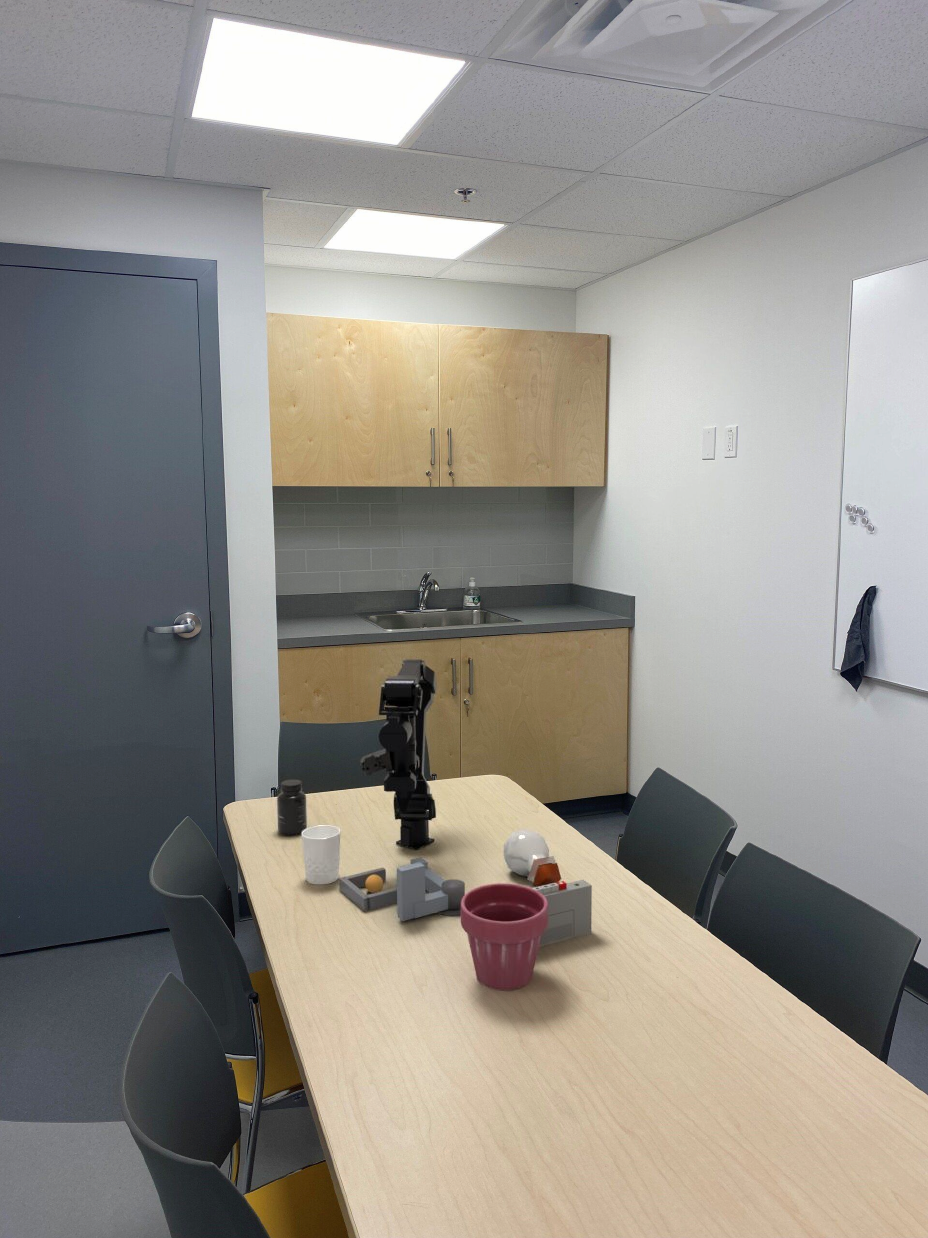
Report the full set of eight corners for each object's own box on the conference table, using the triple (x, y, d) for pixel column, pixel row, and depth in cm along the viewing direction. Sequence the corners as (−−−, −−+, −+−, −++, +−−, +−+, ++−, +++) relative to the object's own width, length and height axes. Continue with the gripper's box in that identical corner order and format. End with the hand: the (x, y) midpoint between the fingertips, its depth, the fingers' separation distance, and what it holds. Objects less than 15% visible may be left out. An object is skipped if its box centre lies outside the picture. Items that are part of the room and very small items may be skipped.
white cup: (345, 871, 187) (344, 825, 186) (336, 887, 179) (335, 839, 178) (308, 870, 188) (307, 824, 187) (298, 885, 180) (296, 838, 179)
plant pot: (542, 1004, 136) (542, 924, 134) (452, 995, 139) (451, 917, 137) (552, 958, 150) (552, 886, 148) (470, 951, 153) (469, 879, 151)
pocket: (383, 879, 183) (383, 867, 183) (409, 899, 173) (409, 887, 173) (339, 890, 178) (339, 878, 177) (364, 911, 168) (364, 899, 168)
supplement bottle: (272, 835, 209) (270, 785, 207) (286, 825, 215) (284, 777, 214) (299, 838, 207) (297, 787, 205) (312, 828, 213) (310, 779, 212)
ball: (375, 870, 179) (368, 872, 175) (388, 880, 177) (382, 882, 174) (366, 885, 179) (359, 887, 175) (379, 895, 177) (372, 897, 174)
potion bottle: (520, 869, 191) (551, 905, 177) (487, 850, 187) (516, 886, 173) (544, 833, 191) (578, 867, 177) (512, 814, 187) (544, 846, 173)
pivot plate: (435, 900, 173) (435, 898, 173) (471, 899, 173) (471, 898, 173) (434, 916, 166) (434, 915, 166) (471, 916, 166) (471, 914, 166)
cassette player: (582, 927, 161) (583, 874, 160) (591, 933, 159) (591, 880, 158) (507, 946, 154) (507, 891, 153) (515, 953, 152) (514, 897, 151)
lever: (365, 890, 176) (364, 843, 175) (425, 875, 183) (424, 830, 182) (405, 923, 161) (404, 873, 160) (469, 906, 168) (468, 857, 167)
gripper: (367, 728, 192) (368, 798, 194) (357, 751, 174) (359, 828, 176) (418, 727, 192) (419, 797, 194) (414, 750, 174) (415, 827, 176)
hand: (403, 811), depth 185 cm, fingers closed
